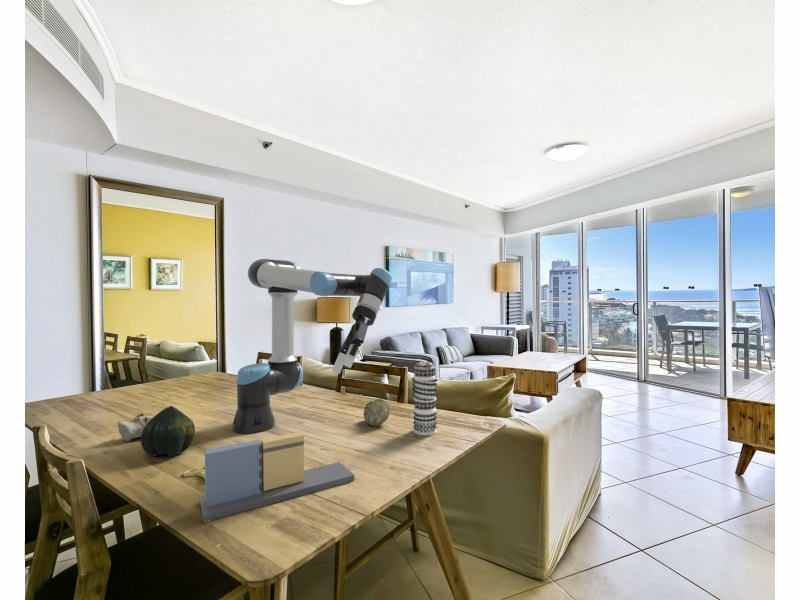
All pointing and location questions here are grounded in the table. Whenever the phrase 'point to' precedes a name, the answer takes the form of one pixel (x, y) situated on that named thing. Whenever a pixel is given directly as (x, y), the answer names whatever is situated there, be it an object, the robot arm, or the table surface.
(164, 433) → the squash
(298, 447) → the tan cardboard parcel
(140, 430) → the ceramic sculpture
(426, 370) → the white patterned cylinder
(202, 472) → the key
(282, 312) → the robot arm
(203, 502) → the base
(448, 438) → the table surface
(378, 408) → the seashell
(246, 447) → the blue square panel
